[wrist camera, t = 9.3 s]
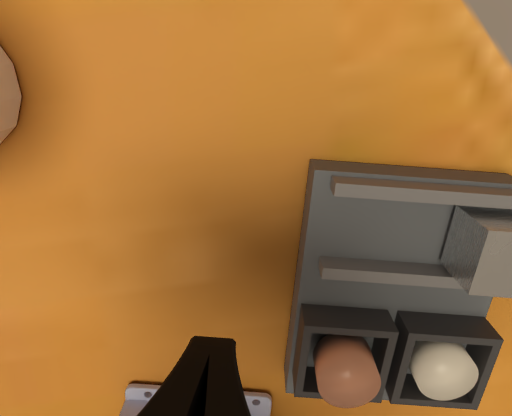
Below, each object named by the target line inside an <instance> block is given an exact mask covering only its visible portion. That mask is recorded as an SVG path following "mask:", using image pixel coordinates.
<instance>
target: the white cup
mask: <svg viewBox="0 0 512 416" xmlns="http://www.w3.org/2000/svg"><path fill="white" fill-rule="evenodd" d="M21 98H22V95H21V92H20V88H19V84H18V80H17V76H16V73H15V69H14V65H13V63H12V61H11V60H10V59H9V57H8V56H7V54H6V53H5V52H4V50H3V49H2V48H1V46H0V144H1V143H2V141H3V140H4V139H5V138H6V137H7V136H8V135H9V133H10V132H11V131H12V130H13V129H14V128H15V127H16V125H17V120H18V115H19V109H20V104H21Z"/></svg>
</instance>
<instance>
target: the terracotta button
mask: <svg viewBox="0 0 512 416" xmlns="http://www.w3.org/2000/svg"><path fill="white" fill-rule="evenodd" d="M313 361H314V367H315V373H316V380H317V386H318V391H319V393H320V395H321V397H322V398H323V399H324V400H325V401H326V402H328V403H329V404H331V405H333V406H336V407H341V408H354V407H359V406H362V405H364V404H366V403H368V402H370V401H371V400H372V399H373V398H374V397H375V396H376V395H377V394H378V392H379V390H380V387H381V378H380V375H379V372H378V369H377V367H376V364H375V361H374V358H373V356H372V353H371V350H370V347H369V345H368V343H367V342H366V340H365V339H364V338H363V337H361V336H347V335H334V334H329V335H327V336H325V337H323V338H322V339H321V340H320V341H319V342H318V343H317V344H316V346H315V348H314V351H313Z"/></svg>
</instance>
